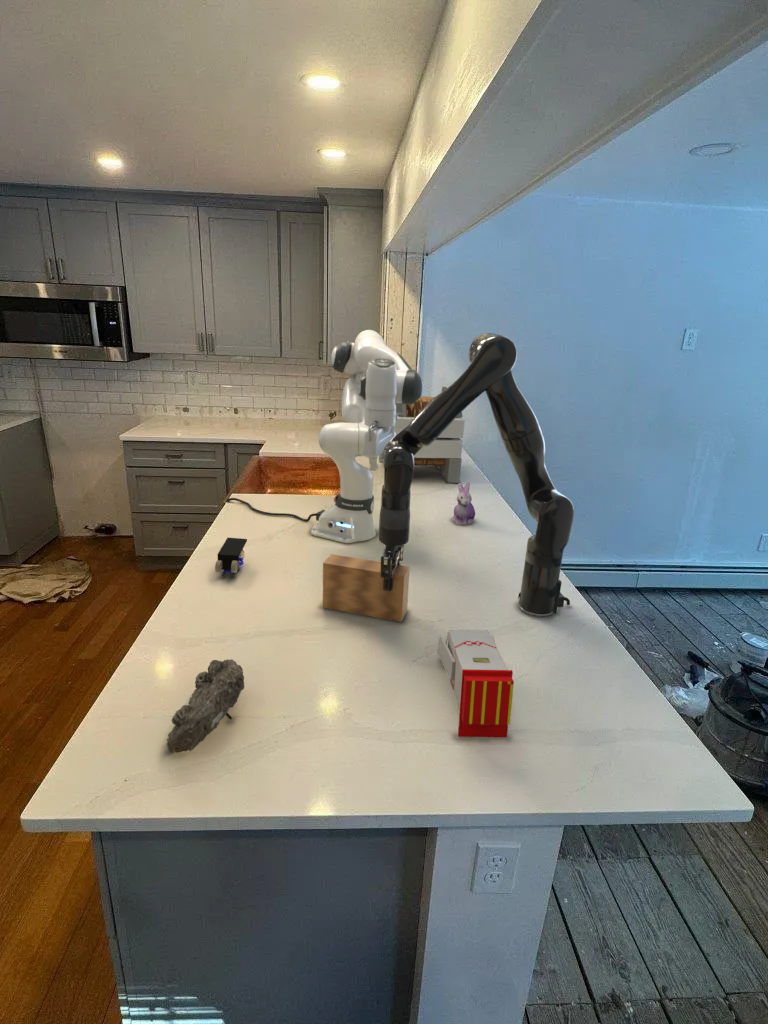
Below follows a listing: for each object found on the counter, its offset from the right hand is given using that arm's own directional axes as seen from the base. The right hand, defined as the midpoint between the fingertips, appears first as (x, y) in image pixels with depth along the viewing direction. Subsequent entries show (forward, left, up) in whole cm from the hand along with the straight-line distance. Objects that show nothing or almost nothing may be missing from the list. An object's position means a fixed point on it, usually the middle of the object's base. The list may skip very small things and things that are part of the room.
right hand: (391, 584), depth 145 cm
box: (+6, -3, -9) cm, 11 cm away
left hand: (0, -30, +23) cm, 37 cm away
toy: (-12, +33, -9) cm, 36 cm away
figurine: (-38, -66, -9) cm, 77 cm away
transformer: (-35, -132, -9) cm, 136 cm away
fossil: (+40, +36, -9) cm, 54 cm away
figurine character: (+43, -28, -9) cm, 52 cm away
